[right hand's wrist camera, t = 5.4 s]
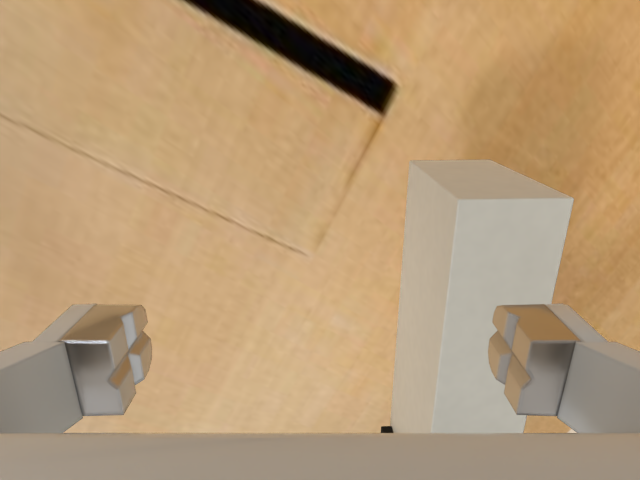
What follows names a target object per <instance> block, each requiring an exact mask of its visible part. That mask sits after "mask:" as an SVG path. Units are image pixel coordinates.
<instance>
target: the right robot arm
mask: <svg viewBox="0 0 640 480" xmlns="http://www.w3.org/2000/svg"><path fill="white" fill-rule="evenodd" d="M147 323H148V320H147V315H146V310H145V309H144V307H143V306H142V305H116V304H76V305H72V306H71V307H69V308H68V309H67V310H66V311H65V312H64V313H63V314H62V315H61V316H60V317H59V318H57V319H56V320H55V321H54V322H53V323H52V324H51V325H50V326H49V327H48V328H46V329H45V330H44V331H43V332H42V333H41V334H40V335H39V336H38V337H37V338H35V339H34V340H33V341H32V342H23V343H21V344H18V345H16V346H13V347H11V348H8V349H6V350H3V351H1V352H0V480H640V352H639V351H637V350H634V349H632V348H629V347H627V346H624V345H622V344H619V343H617V342H608V341H607V340H606V339H605V338H603V337H602V336H601V335H600V334H599V333H598V332H597V331H596V330H595V329H594V328H593V327H591V326H590V325H589V324H588V323H587V322H586V321H585V320H584V319H583V318H582V317H581V316H579V315H578V314H577V313H576V312H575V311H574V310H573V309H572V308H571V307H570V306H568V305H565V304H528V305H500V306H497V307H496V309H495V311H494V314H493V320H492V323H493V324H494V326H495V327H496V329H497V331H496V333H495V334H494V335H493V336H492V337H491V338H490V339H489V346H488V358H489V365H490V368H491V371H492V373H493V375H494V377H495V379H496V380H498V381H499V382H501V383H502V384H504V385H505V389H504V394H505V396H506V398H507V399H508V401H509V403H510V404H511V406H512V408H513V409H514V411H515V413H516V415H538V416H557V418H558V419H560V420H561V421H562V422H564V423H565V424H566V425H568V426H569V427H570V428H572V429H573V430H574V431H576V432H577V433H63V432H65V431H66V430H67V429H69V428H70V427H71V426H73V425H74V424H75V423H77V422H78V421H79V420H81V419H82V418H83V417H82V416H101V415H124V413H125V411H126V410H127V408H128V406H129V404H130V403H131V401H132V399H133V398H134V396H135V394H136V389H135V385H136V384H138V383H139V382H141V381H142V380H144V379H145V377H146V375H147V373H148V371H149V368H150V364H151V360H152V345H151V339H150V338H149V337H148V336H147V335H146V334H145V333H144V331H143V329H144V327H145V326H146V324H147Z"/></svg>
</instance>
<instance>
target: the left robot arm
mask: <svg viewBox="0 0 640 480" xmlns="http://www.w3.org/2000/svg"><path fill="white" fill-rule="evenodd" d="M381 433H393V429H392V426H383V427H381Z"/></svg>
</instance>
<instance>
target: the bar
mask: <svg viewBox="0 0 640 480" xmlns="http://www.w3.org/2000/svg"><path fill="white" fill-rule="evenodd" d="M573 201H574V198H572V197H570V196H568V195H566V194H564V193H561V192H559V191H557V190H555V189H553V188H550V187H548V186H546V185H544V184H542V183H540V182H537V181H535V180H533V179H531V178H529V177H527V176H524V175H522V174H520V173H518V172H516V171H513V170H511V169H509V168H507V167H505V166H503V165H500V164H498V163H496V162H494V161H492V160H411V161H410V162H409V176H408V189H407V203H406V217H405V230H404V244H403V257H402V271H401V285H400V298H399V312H398V326H397V339H396V353H395V366H394V380H393V394H392V407H391V421H390V426H392V429H393V433H523V432H524V427H525V422H526V418H527V415H516V413H515V411H514V409H513V408H512V406H511V404H510V403H509V401H508V399H507V398H506V396H505V394H504V389H505V385H504V384H502V383H501V382H499V381H498V380H496V379H495V377H494V375H493V373H492V371H491V368H490V365H489V358H488V346H489V339H490V338H491V337H492V336H493V335H494V334H495V333H496V331H497V329H496V327H495V326H494V324H493V323H492V320H493V314H494V311H495V309H496V307H497V306H500V305H528V304H551V303H552V298H553V293H554V289H555V284H556V280H557V275H558V270H559V266H560V261H561V257H562V252H563V247H564V243H565V238H566V234H567V229H568V224H569V220H570V215H571V211H572V206H573Z"/></svg>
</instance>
